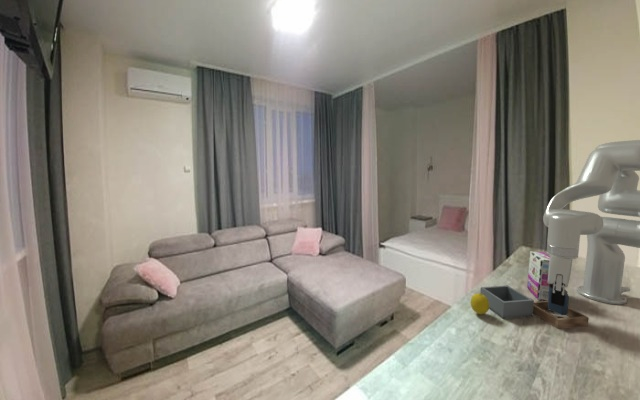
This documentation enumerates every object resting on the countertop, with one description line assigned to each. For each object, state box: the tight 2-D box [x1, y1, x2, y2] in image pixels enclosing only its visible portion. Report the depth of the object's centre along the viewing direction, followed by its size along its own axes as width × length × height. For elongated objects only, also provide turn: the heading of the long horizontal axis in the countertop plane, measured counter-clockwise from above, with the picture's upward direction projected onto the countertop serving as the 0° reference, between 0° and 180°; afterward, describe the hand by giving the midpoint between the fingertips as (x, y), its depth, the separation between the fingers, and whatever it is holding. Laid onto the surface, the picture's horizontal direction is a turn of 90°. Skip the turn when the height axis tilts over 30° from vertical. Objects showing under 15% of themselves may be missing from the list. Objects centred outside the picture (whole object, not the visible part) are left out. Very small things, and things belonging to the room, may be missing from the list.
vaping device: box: [548, 282, 570, 316], centre depth 82 cm, size 3×5×12 cm, turn 20°
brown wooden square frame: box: [533, 300, 590, 330], centre depth 83 cm, size 11×11×3 cm
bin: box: [479, 284, 535, 320], centre depth 89 cm, size 11×11×6 cm
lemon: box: [470, 293, 490, 316], centre depth 86 cm, size 6×6×8 cm
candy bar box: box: [526, 250, 550, 301], centre depth 97 cm, size 11×5×16 cm, turn 156°
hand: (557, 301), depth 83 cm, fingers closed on vaping device, 3 cm apart
